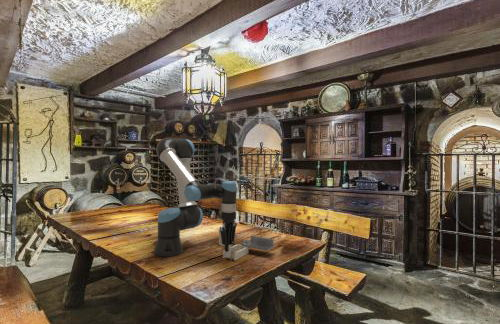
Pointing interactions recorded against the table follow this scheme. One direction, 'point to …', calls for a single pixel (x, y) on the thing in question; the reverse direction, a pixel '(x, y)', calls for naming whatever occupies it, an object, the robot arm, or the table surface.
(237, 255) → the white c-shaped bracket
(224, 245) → the teacup with lid
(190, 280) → the table surface
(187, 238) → the table surface
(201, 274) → the table surface
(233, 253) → the dowel
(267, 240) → the cover
